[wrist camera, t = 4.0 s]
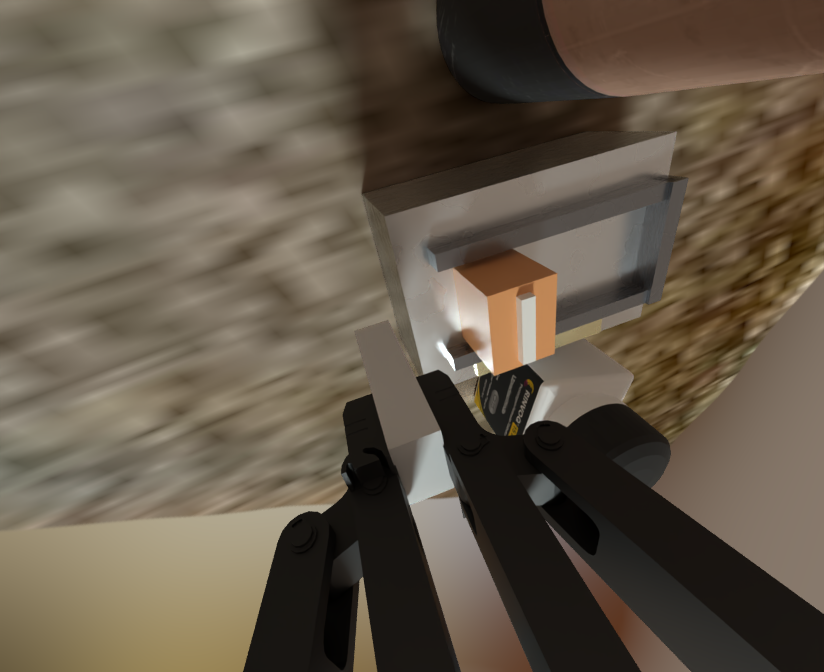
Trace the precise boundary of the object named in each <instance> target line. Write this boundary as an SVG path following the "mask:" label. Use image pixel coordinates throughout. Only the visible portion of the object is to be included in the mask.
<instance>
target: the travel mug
mask: <svg viewBox="0 0 824 672" xmlns="http://www.w3.org/2000/svg"><path fill="white" fill-rule="evenodd" d="M437 28H438V36H439V41H440V46H441V50H442V53H443V56H444V59H445V61H446V63H447V65H448V68H449V70H450V71H451V73H452V75H453V76H454V78H455V79H456V81H457V82H458V83H459V84H460V85H461V87H463V88H464V89H465V90H466V91H467V92H468V93H469V94H471V95H472V96H474V97H475V98H478V99H480V100H482V101H485V102H489V103H499V104H510V103H529V102H546V101H563V100H580V99H597V98H614V97H626V96H635V95H643V94H652V93H660V92H668V91H677V90H685V89H693V88H702V87H710V86H718V85H727V84H735V83H743V82H751V81H760V80H768V79H776V78H785V77H793V76H801V75H810V74H818V73H824V0H437Z"/></svg>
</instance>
